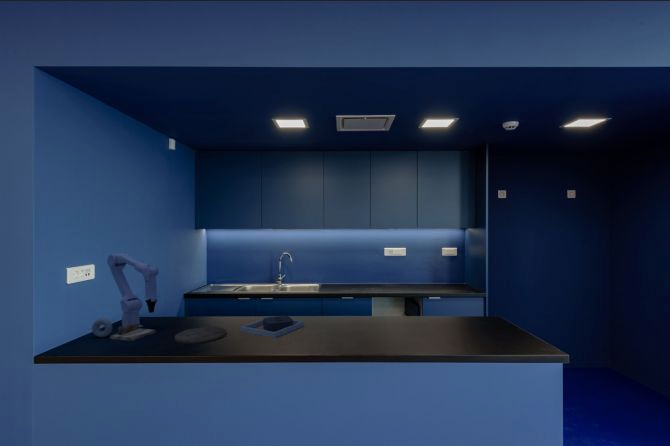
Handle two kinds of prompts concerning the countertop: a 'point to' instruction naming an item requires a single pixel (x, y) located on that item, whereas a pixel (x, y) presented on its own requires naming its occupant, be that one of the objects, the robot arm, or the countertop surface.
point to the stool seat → (133, 334)
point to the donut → (97, 330)
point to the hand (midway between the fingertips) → (151, 312)
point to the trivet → (200, 335)
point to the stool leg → (128, 328)
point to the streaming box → (277, 323)
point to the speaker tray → (250, 329)
